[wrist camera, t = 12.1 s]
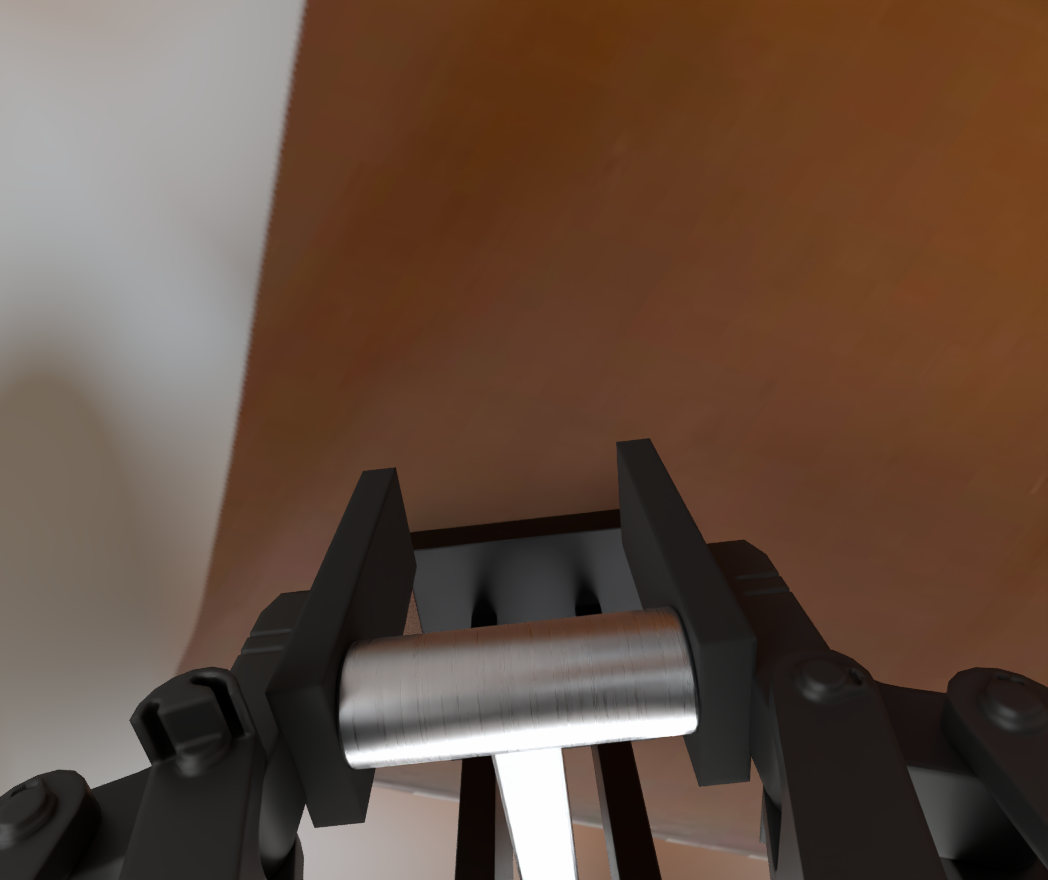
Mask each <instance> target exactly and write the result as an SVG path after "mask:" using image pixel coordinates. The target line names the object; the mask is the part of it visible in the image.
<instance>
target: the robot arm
mask: <svg viewBox="0 0 1048 880" xmlns="http://www.w3.org/2000/svg"><path fill="white" fill-rule="evenodd" d="M616 446H617V464H618V482H619V500H620V519H621V537H622V545H623V548H624V552H625V555H626V558H627V561H628V564H629V567H630V570H631V574H632V577H633V580H634V583H635V586H636V589H637V592H638V596H639V599H640V602H641V605H642V608H643V609H650V608H659V607H668V606H670V607H673V608H675V609H676V611H677V612H678V614H679V616H680V618H681V620H682V622H683V624H684V627H685V630H686V633H687V636H688V640H689V643H690V647H691V651H692V656H693V660H694V665H695V671H696V677H697V684H698V692H699V706H700V714H699V724H698V729H697V731H695V732H694V733H692V734H685V735H683V737H684V740H685V744H686V747H687V750H688V753H689V756H690V759H691V762H692V766H693V769H694V772H695V775H696V778H697V781H698V784H699V787H701V786H710V785H719V784H729V783H738V782H748V781H750V769H751V756H752V759H753V761H754V764H755V766H756V768H757V771H758V773H759V775H760V778H761V780H762V783H763V796H762V811H761V827H760V842H759V843H766V846H767V855H768V863H769V871H770V879H771V880H1048V688H1047V687H1046V686H1044V685H1042V684H1040V683H1038V682H1036V681H1034V680H1031V679H1029V678H1027V677H1025V676H1023V675H1020V674H1017V673H1013V672H1009V671H1005V670H1002V669H998V668H978V667H975V668H971V669H968V670H964V671H960V672H958V673H957V674H956V675H955V676H954V677H953V678H952V679H951V680H950V681H949V683H948V687H947V692H946V693H940V692H933V691H926V690H919V689H912V688H904V687H898V686H894V685H889V684H884V683H881V682H878V681H876V680H874V679H873V678H872V676H871V675H870V673H869V671H868V670H866V669H865V668H864V667H863V666H861V665H860V664H859V663H857V662H856V661H855V660H854V659H852V658H850V657H848V656H846V655H843V654H841V653H839V652H837V651H834V650H830V648H829V647H828V645H827V644H826V642H825V641H824V639H823V638H822V636H821V635H820V633H819V632H818V630H817V629H816V627H815V626H814V624H813V623H812V621H811V620H810V619H809V617H808V616H807V614H806V613H805V611H804V610H803V608H802V607H801V605H800V604H799V602H798V601H797V599H796V598H795V596H794V595H793V593H792V592H790V591H789V587H788V586H787V585H786V583H785V582H784V580H783V579H782V577H781V576H780V577H779V573H778V571H777V570H776V568H775V567H774V565H773V564H772V562H771V561H770V559H769V558H768V556H767V555H766V554H765V553H763V552H762V551H760V550H759V549H757V548H756V547H754V546H753V545H751V544H750V543H748V542H747V541H745V540H737V541H728V542H719V543H710V544H706V542H705V541H704V539H703V537H702V535H701V533H700V531H699V529H698V528H697V526H696V524H695V522H694V520H693V518H692V516H691V515H690V513H689V511H688V509H687V507H686V505H685V503H684V502H683V500H682V498H681V496H680V494H679V492H678V490H677V489H676V487H675V485H674V483H673V481H672V479H671V477H670V475H669V474H668V472H667V470H666V468H665V466H664V464H663V462H662V461H661V459H660V457H659V455H658V453H657V451H656V449H655V448H654V446H653V444H652V442H651V440H650V438H648V439H640V440H631V441H622V442H616ZM416 569H417V564H416V559H415V554H414V550H413V545H412V540H411V536H410V531H409V527H408V522H407V517H406V513H405V508H404V503H403V499H402V494H401V489H400V485H399V480H398V475H397V471H396V467H395V468H386V469H377V470H369V471H363V472H362V474H361V477H360V479H359V481H358V483H357V486H356V488H355V490H354V492H353V495H352V497H351V499H350V501H349V504H348V506H347V508H346V510H345V513H344V515H343V517H342V519H341V522H340V524H339V526H338V528H337V531H336V533H335V535H334V537H333V540H332V542H331V544H330V546H329V549H328V551H327V553H326V555H325V558H324V560H323V562H322V565H321V567H320V569H319V571H318V574H317V576H316V578H315V580H314V583H313V585H312V587H311V589H310V590H307V591H298V592H289V593H281V594H280V595H279V596H278V597H277V598H276V599H275V600H274V601H273V602H272V603H271V604H270V605H269V606H268V607H267V608H265V609H264V610H263V611H262V612H261V614H260V616H259V617H258V619H257V621H256V623H255V625H254V627H253V629H252V631H251V633H250V637H249V638H247V640H246V642H245V644H244V646H243V648H242V650H241V655H238V657H237V659H236V661H235V663H234V665H233V667H232V668H231V670H230V671H229V670H228V669H222V668H217V667H208V668H201V669H195V670H192V671H189V672H186V673H184V674H181V675H179V676H176V677H174V678H172V679H170V680H169V681H167V682H166V683H164V684H162V685H161V686H159V687H158V688H156V689H154V690H153V691H152V692H151V693H150V694H149V695H148V696H147V697H146V698H145V699H144V700H143V701H142V702H141V703H140V704H139V705H138V707H137V708H136V710H135V712H134V713H133V715H132V717H131V718H130V720H129V721H130V723H131V725H132V726H133V728H134V731H135V732H136V735H137V736H138V739H139V740H140V743H141V744H142V746H143V749H144V750H145V752H146V754H147V756H148V759H149V760H150V763H151V765H152V766H151V767H149V768H147V769H144V770H142V771H140V772H138V773H135V774H132V775H129V776H126V777H124V778H121V779H118V780H115V781H113V782H110V783H107V784H104V785H102V786H99V787H96V788H93V789H90V787H89V786H88V784H87V782H86V781H85V778H83V777H82V776H81V775H80V774H78V773H77V772H76V771H72V770H56V771H52V772H48V773H44V774H40V775H37V776H35V777H33V778H31V779H29V780H27V781H25V782H23V783H21V784H19V785H17V786H15V787H13V788H12V789H10V790H9V791H8V792H6V793H5V794H4V795H2V796H1V797H0V880H303V866H304V856H303V851H302V847H301V842H300V839H299V837H298V834H297V830H298V827H299V824H300V820H301V817H302V814H303V810H304V807H305V804H306V806H307V808H308V811H309V814H310V817H311V820H312V822H313V825H314V827H315V828H319V827H328V826H337V825H347V824H355V823H364V822H365V818H366V813H367V808H368V803H369V798H370V793H371V788H372V783H373V779H374V774H375V769H376V768H367V769H358V770H357V769H354V768H351V767H350V766H349V765H348V764H347V763H346V761H345V759H344V756H343V754H342V751H341V747H340V742H339V737H338V731H337V721H336V692H337V682H338V675H339V670H340V665H341V662H342V658H343V655H344V653H345V651H346V649H347V647H348V646H349V645H350V644H351V643H353V642H355V641H358V640H367V639H377V638H386V637H395V636H403V632H404V627H405V623H406V618H407V613H408V608H409V603H410V598H411V593H412V588H413V584H414V579H415V574H416Z"/></svg>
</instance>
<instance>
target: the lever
mask: <svg viewBox="0 0 1048 880" xmlns="http://www.w3.org/2000/svg"><path fill="white" fill-rule="evenodd" d="M699 714H700V706H699V692H698V684H697V677H696V671H695V665H694V660H693V656H692V651H691V647H690V643H689V640H688V636H687V633H686V630H685V627H684V624H683V622H682V620H681V618H680V616H679V614H678V612H677V611H676V609H675V608H673V607H670V606H668V607H659V608H650V609H641V610H632V611H623V612H614V613H604V614H595V615H586V616H577V617H568V618H559V619H550V620H541V621H532V622H522V623H513V624H504V625H495V626H486V627H477V628H468V629H459V630H449V631H440V632H431V633H422V634H413V635H404V636H395V637H386V638H377V639H367V640H358V641H355V642H353V643H351V644H350V645H349V646H348V647H347V649H346V651H345V653H344V655H343V658H342V662H341V665H340V670H339V675H338V682H337V692H336V721H337V731H338V737H339V742H340V747H341V751H342V754H343V756H344V759H345V761H346V763H347V764H348V765H349V766H350V767H351V768H354V769H357V770H358V769H367V768H376V767H386V766H395V765H405V764H414V763H423V762H433V761H442V760H451V759H461V758H470V757H479V756H489V755H492V760H493V764H494V768H495V773H496V777H497V782H498V786H499V790H500V795H501V799H502V803H503V808H504V812H505V816H506V821H507V825H508V830H509V834H510V838H511V843H512V847H513V851H514V856H515V860H516V864H517V869H518V873H519V877H520V880H579V877H578V868H577V859H576V851H575V843H574V834H573V826H572V818H571V810H570V801H569V793H568V785H567V777H566V768H565V760H564V752H563V748H564V747H573V746H582V745H592V744H601V743H611V742H620V741H629V740H639V739H648V738H657V737H667V736H676V735H685V734H692V733H694V732H695V731H697V729H698V724H699Z"/></svg>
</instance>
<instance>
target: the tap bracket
mask: <svg viewBox="0 0 1048 880" xmlns="http://www.w3.org/2000/svg"><path fill="white" fill-rule="evenodd" d="M410 536H411V540H412V545H413V550H414V554H415V559H416V564H417V569H416V574H415V579H414V584H413V588H412V589H413V593H414V598H415V602H416V606H417V611H418V615H419V620H420V624H421V629H422V633H431V632H440V631H449V630H459V629H468V628H477V627H486V626H495V625H504V624H513V623H522V622H532V621H541V620H550V619H559V618H568V617H577V616H586V615H595V614H604V613H614V612H623V611H632V610H641V609H643V608H642V605H641V602H640V599H639V596H638V592H637V589H636V586H635V583H634V580H633V577H632V574H631V570H630V567H629V564H628V561H627V558H626V555H625V552H624V548H623V545H622V537H621V519H620V509H617V510H608V511H599V512H590V513H581V514H572V515H563V516H555V517H546V518H537V519H528V520H519V521H510V522H501V523H492V524H483V525H474V526H465V527H456V528H447V529H438V530H430V531H421V532H412V533H410ZM652 739H656V738H648V739H639V740H629V741H620V742H611V743H601V744H592V745H582V746H573V747H564V748H563V749H568V748H577V747H586V746H591V749H592V756H593V762H594V769H595V775H596V782H597V788H598V795H599V801H600V808H601V814H602V821H603V827H604V834H605V840H606V847H607V853H608V859H609V866H610V873H611V879H612V880H662V878H661V874H660V869H659V865H658V860H657V856H656V852H655V847H654V843H653V838H652V834H651V829H650V825H649V820H648V816H647V811H646V807H645V802H644V798H643V793H642V789H641V784H640V780H639V775H638V771H637V766H636V762H635V757H634V753H633V748H632V744H631V742H633V741H643V740H652ZM455 760H462V772H461V788H460V803H459V819H458V835H457V850H456V866H455V880H513V847H512V843H511V838H510V834H509V830H508V825H507V821H506V816H505V812H504V808H503V803H502V799H501V795H500V790H499V786H498V782H497V777H496V773H495V768H494V764H493V760H492V755H489V756H479V757H470V758H461V759H451V761H455Z"/></svg>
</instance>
